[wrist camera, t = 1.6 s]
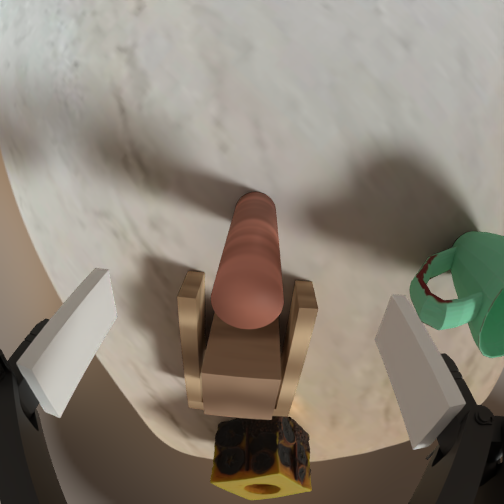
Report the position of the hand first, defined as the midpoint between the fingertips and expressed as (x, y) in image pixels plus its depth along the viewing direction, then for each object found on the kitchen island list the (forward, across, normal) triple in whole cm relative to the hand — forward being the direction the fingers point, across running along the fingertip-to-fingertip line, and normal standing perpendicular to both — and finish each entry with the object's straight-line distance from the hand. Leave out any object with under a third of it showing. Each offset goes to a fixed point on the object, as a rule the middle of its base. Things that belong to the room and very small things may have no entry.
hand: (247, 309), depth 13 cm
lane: (+12, 0, -12) cm, 17 cm away
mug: (+12, +19, -1) cm, 23 cm away
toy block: (+13, +4, -31) cm, 34 cm away
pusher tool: (+12, 0, -7) cm, 14 cm away
